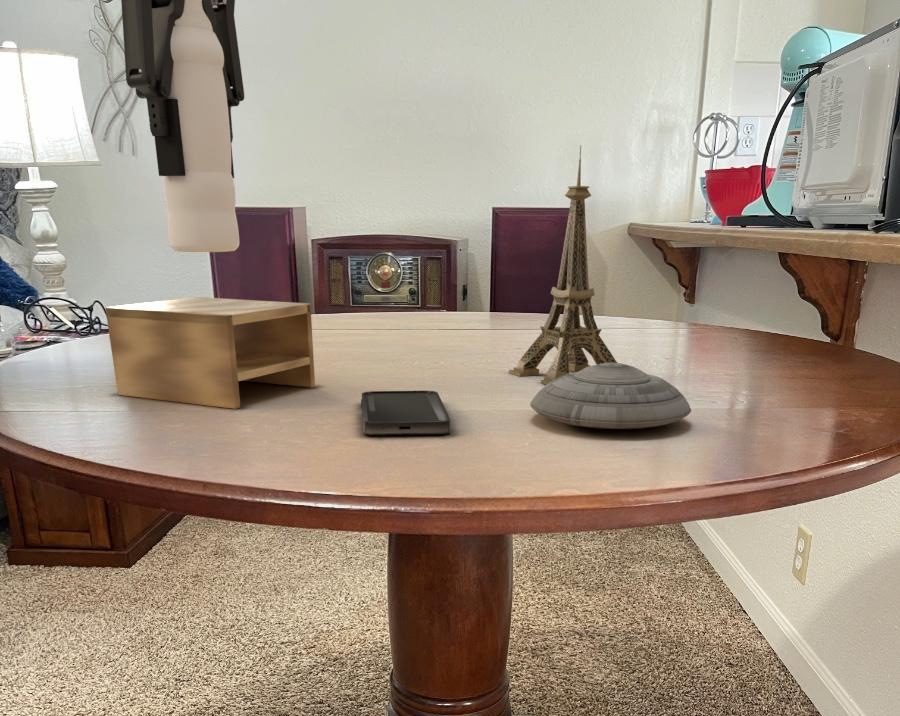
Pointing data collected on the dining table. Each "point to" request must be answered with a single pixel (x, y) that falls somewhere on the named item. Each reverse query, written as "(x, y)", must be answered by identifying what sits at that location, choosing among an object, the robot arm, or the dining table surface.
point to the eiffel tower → (569, 305)
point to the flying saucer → (611, 399)
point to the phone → (403, 413)
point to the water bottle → (201, 141)
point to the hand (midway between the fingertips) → (197, 176)
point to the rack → (209, 348)
